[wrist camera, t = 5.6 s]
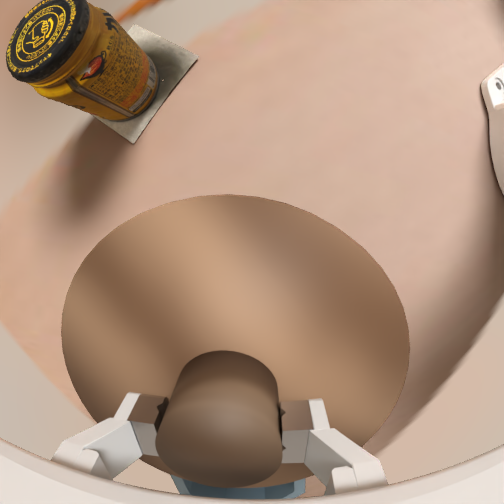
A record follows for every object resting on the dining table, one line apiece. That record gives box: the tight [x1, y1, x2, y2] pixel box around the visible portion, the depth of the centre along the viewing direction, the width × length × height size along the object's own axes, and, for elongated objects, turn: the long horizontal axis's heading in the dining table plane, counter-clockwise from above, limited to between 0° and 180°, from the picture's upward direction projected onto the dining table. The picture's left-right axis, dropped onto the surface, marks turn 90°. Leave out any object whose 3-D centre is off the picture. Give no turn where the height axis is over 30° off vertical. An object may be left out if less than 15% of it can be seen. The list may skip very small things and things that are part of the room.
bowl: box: [170, 474, 305, 499], centre depth 25 cm, size 12×12×6 cm
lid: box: [61, 194, 410, 488], centre depth 10 cm, size 15×15×4 cm
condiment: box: [6, 0, 199, 144], centre depth 15 cm, size 7×8×12 cm
